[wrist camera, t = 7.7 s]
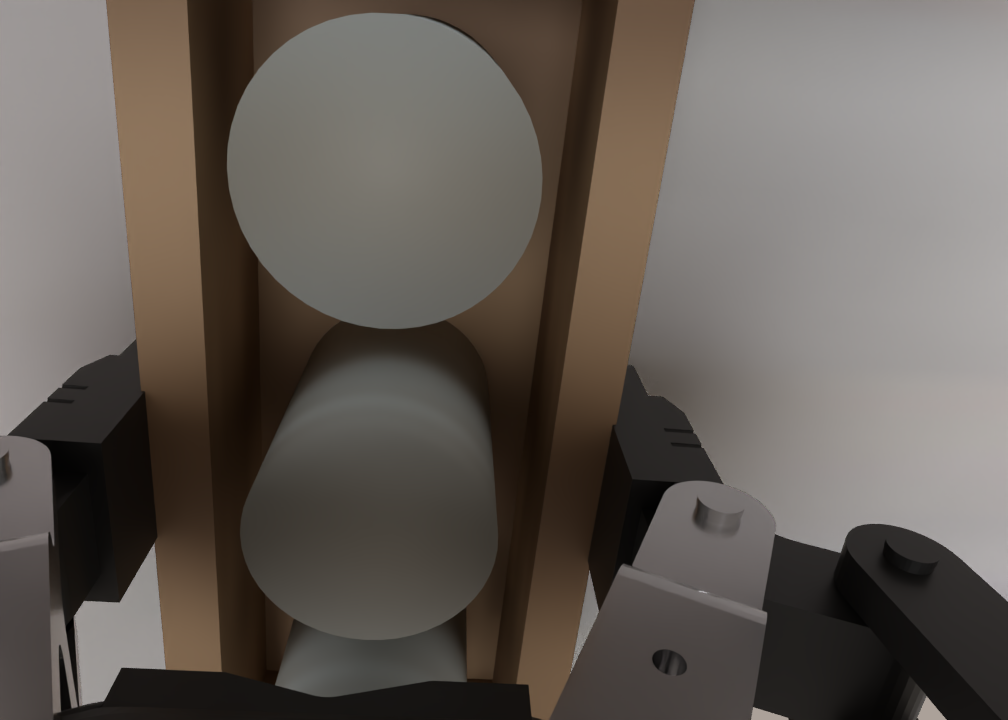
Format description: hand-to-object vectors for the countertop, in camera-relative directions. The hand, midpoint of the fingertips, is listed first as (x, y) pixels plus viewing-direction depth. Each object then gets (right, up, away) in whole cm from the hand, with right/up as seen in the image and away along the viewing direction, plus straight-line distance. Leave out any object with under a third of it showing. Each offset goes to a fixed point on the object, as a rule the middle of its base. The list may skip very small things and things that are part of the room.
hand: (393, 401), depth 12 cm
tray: (0, 0, +1) cm, 1 cm away
